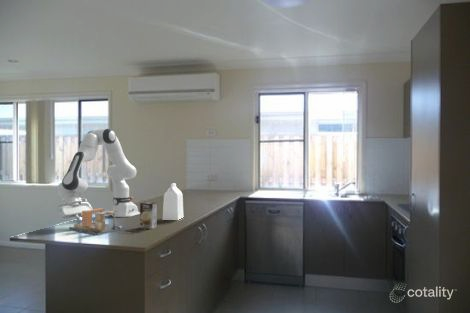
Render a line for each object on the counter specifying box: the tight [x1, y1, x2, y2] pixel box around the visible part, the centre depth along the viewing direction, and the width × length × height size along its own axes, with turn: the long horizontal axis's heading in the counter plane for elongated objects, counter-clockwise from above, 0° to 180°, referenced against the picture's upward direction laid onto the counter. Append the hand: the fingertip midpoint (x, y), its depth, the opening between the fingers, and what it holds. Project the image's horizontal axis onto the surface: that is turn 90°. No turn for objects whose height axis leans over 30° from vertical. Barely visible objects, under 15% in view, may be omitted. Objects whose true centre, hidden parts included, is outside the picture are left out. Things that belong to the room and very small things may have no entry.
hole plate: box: [68, 220, 126, 236], centre depth 219 cm, size 20×28×2 cm
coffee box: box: [139, 201, 158, 230], centre depth 225 cm, size 9×6×16 cm
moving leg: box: [81, 207, 105, 227], centre depth 218 cm, size 13×4×10 cm, turn 147°
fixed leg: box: [73, 210, 116, 232], centre depth 217 cm, size 13×26×11 cm, turn 57°
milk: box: [162, 182, 185, 221], centre depth 254 cm, size 12×12×26 cm
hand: (81, 220), depth 218 cm, fingers closed
